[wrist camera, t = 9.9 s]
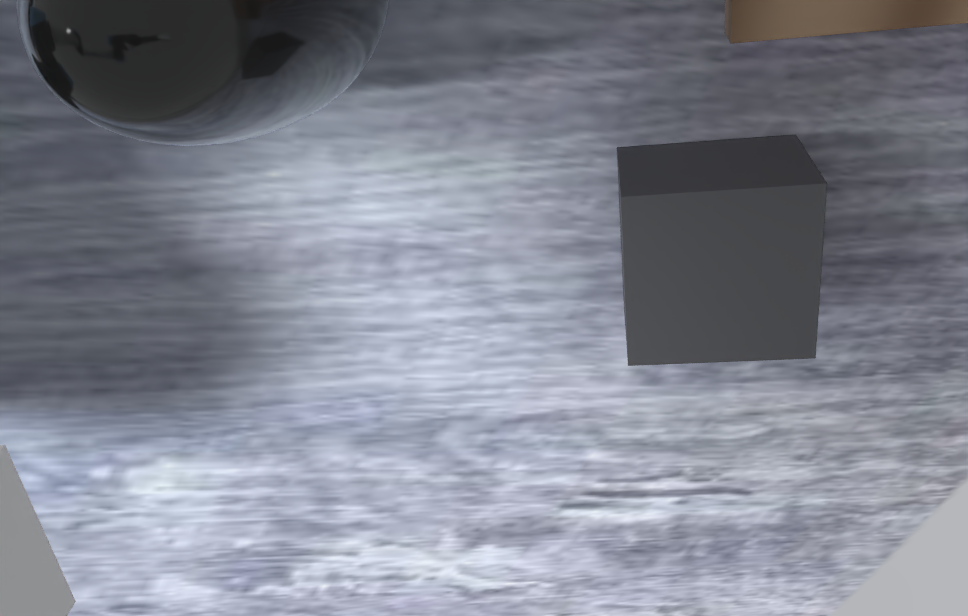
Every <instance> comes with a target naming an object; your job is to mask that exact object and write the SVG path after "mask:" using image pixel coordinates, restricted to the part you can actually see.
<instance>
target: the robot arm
mask: <svg viewBox="0 0 968 616" xmlns="http://www.w3.org/2000/svg"><path fill="white" fill-rule="evenodd" d="M75 602H76V601H75V599H74V597H73V595H72V592H71V590H70V588H69V586H68V584H67V581H66V579H65V577H64V575H63V572H62V570H61V568H60V566H59V564H58V561H57V559H56V557H55V555H54V553H53V550H52V548H51V546H50V544H49V541H48V539H47V537H46V535H45V533H44V530H43V528H42V526H41V524H40V522H39V519H38V517H37V515H36V513H35V510H34V508H33V506H32V504H31V502H30V499H29V497H28V495H27V493H26V491H25V488H24V486H23V484H22V482H21V479H20V477H19V475H18V473H17V471H16V468H15V466H14V464H13V462H12V460H11V457H10V455H9V453H8V451H7V448H6V446H5V445H0V616H67V615H68V613H69V611H70V610H71V608H72V607H73V605H74V603H75Z"/></svg>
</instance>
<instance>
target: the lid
mask: <svg viewBox="0 0 968 616" xmlns="http://www.w3.org/2000/svg"><path fill="white" fill-rule="evenodd" d="M961 23H968V0H725V35H726V36H727V38H728V39H729V41H730V43H742V42H754V41H765V40H777V39H788V38H800V37H811V36H823V35H834V34H846V33H857V32H869V31H880V30H892V29H903V28H915V27H926V26H938V25H949V24H961Z"/></svg>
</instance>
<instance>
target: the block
mask: <svg viewBox="0 0 968 616" xmlns="http://www.w3.org/2000/svg"><path fill="white" fill-rule="evenodd" d="M617 160H618V182H619V205H620V228H621V250H622V273H623V296H624V312H625V326H626V340H627V354H628V366H633V365H658V364H683V363H708V362H734V361H759V360H784V359H809V358H816V342H817V327H818V312H819V297H820V282H821V267H822V251H823V236H824V221H825V206H826V191H827V183H826V181H825V180H824V178H823V177H822V175H821V173H820V172H819V170H818V169H817V167H816V166H815V164H814V163H813V161H812V159H811V158H810V156H809V155H808V153H807V152H806V150H805V149H804V147H803V146H802V144H801V142H800V141H799V139H798V138H797V136H796V135H785V136H772V137H758V138H744V139H730V140H717V141H703V142H689V143H676V144H662V145H648V146H634V147H621V148H617Z"/></svg>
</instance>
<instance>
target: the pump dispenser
mask: <svg viewBox="0 0 968 616" xmlns="http://www.w3.org/2000/svg"><path fill="white" fill-rule="evenodd" d="M16 6H17V18H18V25H19V30H20V34H21V38H22V41H23V45H24V47H25V50H26V52H27V55H28V57H29V59H30V61H31V63H32V65H33V67H34V69H35V70H36V72H37V73H38V75H39V76H40V78H41V79H42V81H43V82H44V83H45V84H46V86H47V87H48V88H49V89H50V90H51V91H52V93H53V94H54V95H55V96H56V97H57V98H58V99H59V100H61V101H62V102H63V103H64V104H65V105H66V106H68V107H69V108H70V109H71V110H73V111H74V112H76V113H77V114H78V115H80V116H82V117H83V118H85V119H86V120H88V121H90V122H92V123H94V124H95V125H97V126H99V127H102V128H104V129H106V130H108V131H111V132H113V133H116V134H119V135H122V136H125V137H128V138H132V139H136V140H140V141H145V142H150V143H157V144H164V145H177V146H200V145H214V144H223V143H230V142H236V141H241V140H245V139H250V138H254V137H257V136H261V135H264V134H267V133H270V132H273V131H276V130H278V129H281V128H283V127H286V126H288V125H291V124H293V123H295V122H297V121H299V120H301V119H303V118H305V117H307V116H309V115H311V114H313V113H315V112H317V111H318V110H320V109H322V108H323V107H325V106H326V105H328V104H329V103H330V102H332V101H333V100H334V99H336V98H337V97H338V96H339V95H340V94H341V93H343V92H344V91H345V90H346V89H347V88H348V87H349V86H350V85H351V84H352V83H353V81H354V80H355V79H356V78H357V77H358V76H359V74H360V73H361V72H362V70H363V69H364V68H365V66H366V65H367V63H368V61H369V60H370V58H371V56H372V54H373V53H374V51H375V48H376V46H377V44H378V42H379V39H380V36H381V34H382V31H383V27H384V23H385V19H386V14H387V8H388V0H16Z"/></svg>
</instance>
